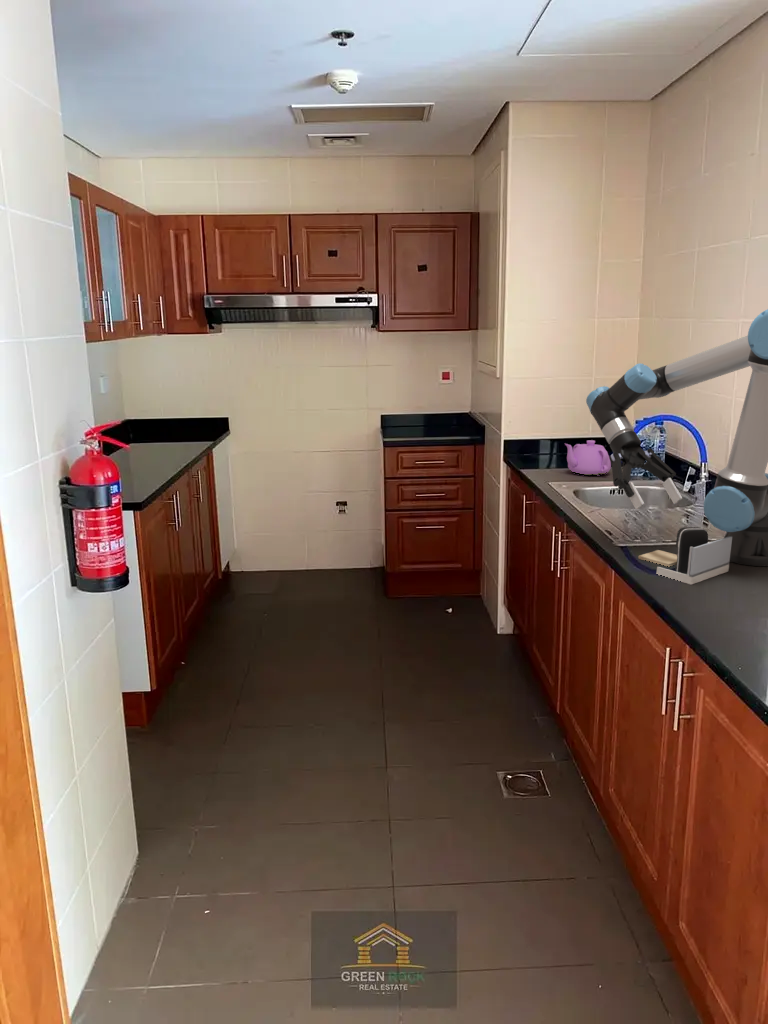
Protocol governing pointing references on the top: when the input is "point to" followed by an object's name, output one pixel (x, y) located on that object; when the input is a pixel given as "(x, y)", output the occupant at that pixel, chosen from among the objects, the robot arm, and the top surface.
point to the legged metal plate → (703, 562)
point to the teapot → (588, 458)
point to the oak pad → (660, 558)
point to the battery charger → (688, 545)
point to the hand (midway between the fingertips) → (659, 503)
